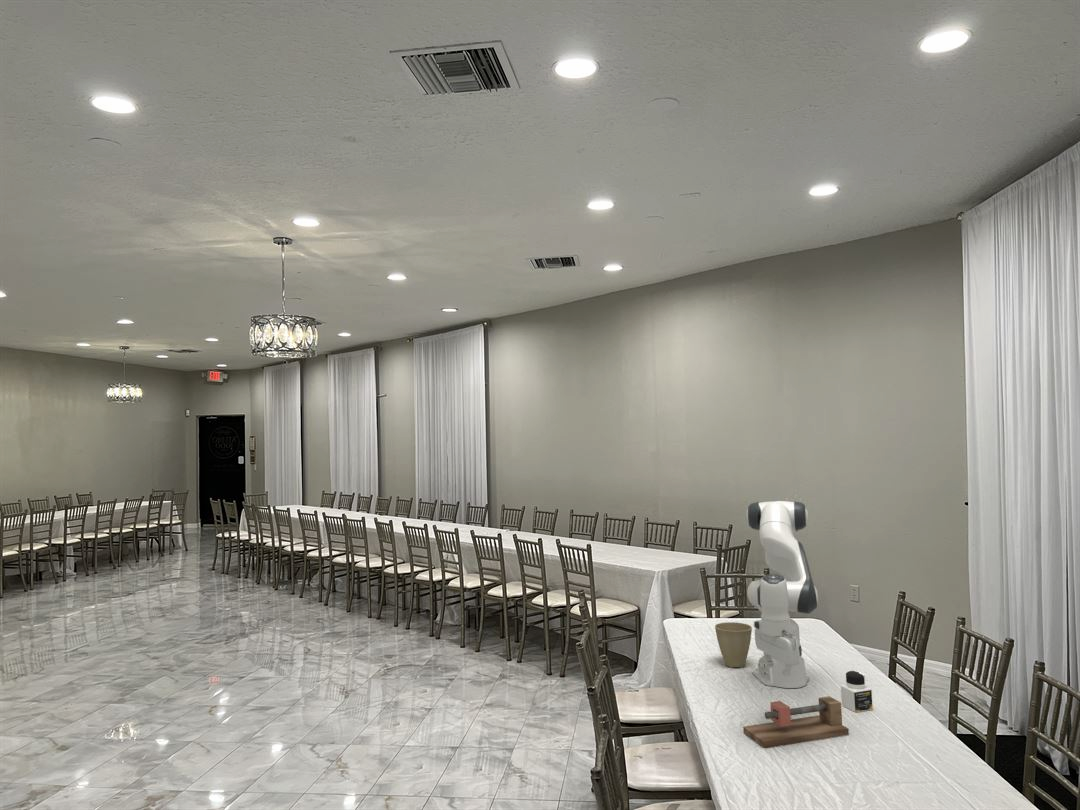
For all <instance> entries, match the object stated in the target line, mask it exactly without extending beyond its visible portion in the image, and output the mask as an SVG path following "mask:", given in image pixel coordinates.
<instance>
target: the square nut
mask: <svg viewBox="0 0 1080 810" xmlns="http://www.w3.org/2000/svg"><path fill="white" fill-rule="evenodd" d="M769 704H770V712H771V711H778V718H771V719H770V720H771V721H772V722H775V723H776V724H778V725H779V726H781V727H783V726H789V725H791V718H792V716H790V709H791V707H790V706H789V705H788V704H786V703H784V702H783V701H781V700H777V701H770V703H769Z"/></svg>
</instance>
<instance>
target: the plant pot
mask: <svg viewBox="0 0 1080 810" xmlns="http://www.w3.org/2000/svg"><path fill="white" fill-rule="evenodd" d="M714 629H715V634H716V640H717V643H718V647H719V650H720V653H721V655H722V659H723V662H724V664H725V666H726V665H727V666H726V667H728V666H729V667H728V668H731V667H741V668H744V667H743V666H745V664H746V662H747V658H748V655H749V651H750V646H751V639H752V631H753V627H752V625H750V624H747V623H744V622H738V621H737V622H735V621H733V622H732V621H729V622H728V621H726V622H718V623H716V624H715V625H714Z"/></svg>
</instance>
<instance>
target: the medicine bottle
mask: <svg viewBox="0 0 1080 810" xmlns="http://www.w3.org/2000/svg"><path fill="white" fill-rule="evenodd" d="M845 681H846V684H841V685H840V693H841V694H840V695H841V697H840V698H841V706H842V705H843V706H842V707H844V708H847V709H848V710H850V711H852V712H854V713H860V712H861V711H862V712H867V711H866V710H868V711H872V710H873V709H874V708H873V693H872V688H870V687H868V686H866V675H865V674H864V673H863V672H861V671H858V670H849V671H847V672H846V673H845Z"/></svg>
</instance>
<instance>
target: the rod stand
mask: <svg viewBox="0 0 1080 810" xmlns="http://www.w3.org/2000/svg"><path fill="white" fill-rule="evenodd" d="M817 712H818V713H819V715H813V716H812V715H811V716H805V717H799V718H792V719H791V725H789V726H783V727H781V726H779V725H778V724H776V723H775V722H773V721H772V722H766V723H759V724H753V725H752V724H751V725H746V726H743V727H742V728H743V729H742V730H743V734H744V735H745V734H746V736H747V737H748V738H749V737H750V738H749V739H751V740H752V741H754V742H755V743H756V744H758V745H759V746H760V747H762V749H769V748H775V746H776V747H781V746H780V745H782V746H787V745H795V744H800V743H806V741H807V742H813V741H819V740H826V739H832V738H837V737H838V736H839V737H845V736H849V735H850V732H849V727H847V726H845V725H843V714H842V713H843V712H842V701H841V702H840V701H839V700H837V699H835V698H833V697H832V696H830V695H829V696H822V697H818V704H813V705H808V706H799V707H793V708H790V716H791V717H792V716H797V715H803V714H810V713H817ZM764 717H765V719H766V720H771V718H778V711H771V710H770V711H766V712H764ZM844 735H845V736H844ZM831 737H832V738H831Z"/></svg>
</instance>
